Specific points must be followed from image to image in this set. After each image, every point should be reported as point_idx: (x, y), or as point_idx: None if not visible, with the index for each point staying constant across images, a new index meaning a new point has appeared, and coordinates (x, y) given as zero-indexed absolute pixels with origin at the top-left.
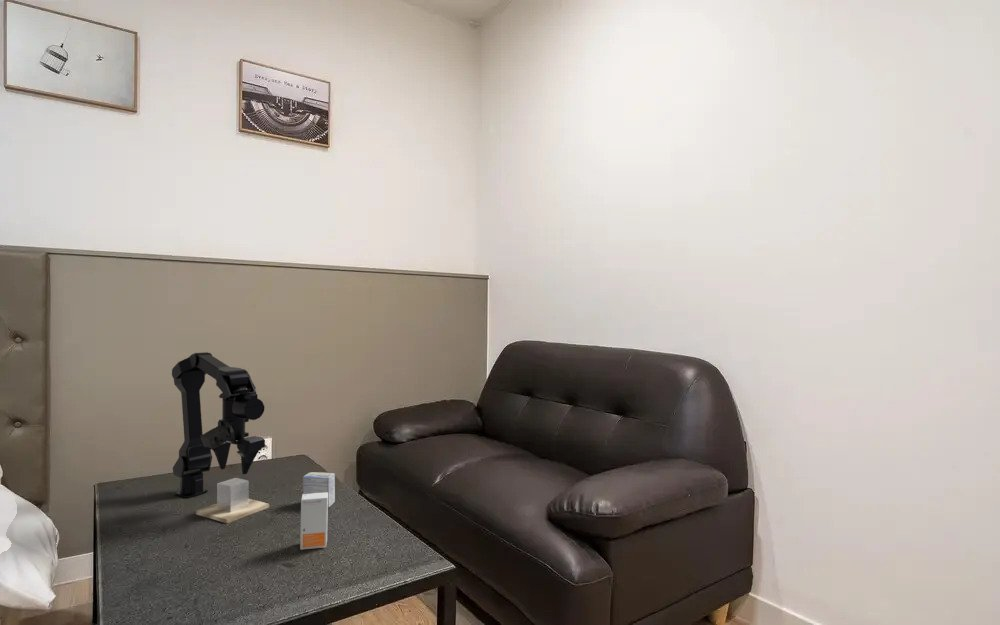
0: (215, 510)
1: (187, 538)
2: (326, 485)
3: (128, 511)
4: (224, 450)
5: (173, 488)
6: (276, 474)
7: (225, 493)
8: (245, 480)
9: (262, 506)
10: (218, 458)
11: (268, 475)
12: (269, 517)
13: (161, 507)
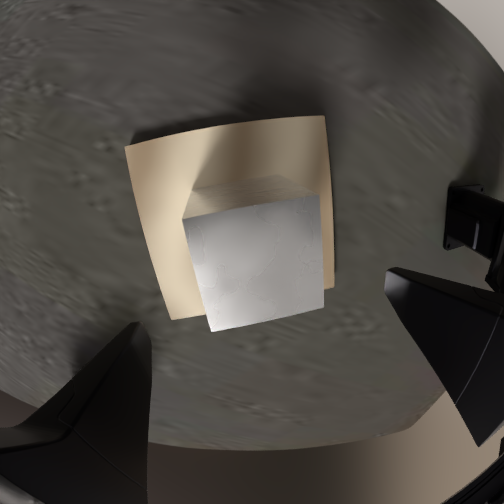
0: (262, 159)
1: (120, 15)
2: None
3: (461, 57)
4: (473, 374)
5: None
6: (384, 395)
7: (229, 197)
8: (231, 323)
9: (163, 296)
10: (455, 293)
11: (395, 383)
12: (85, 271)
13: (442, 105)
